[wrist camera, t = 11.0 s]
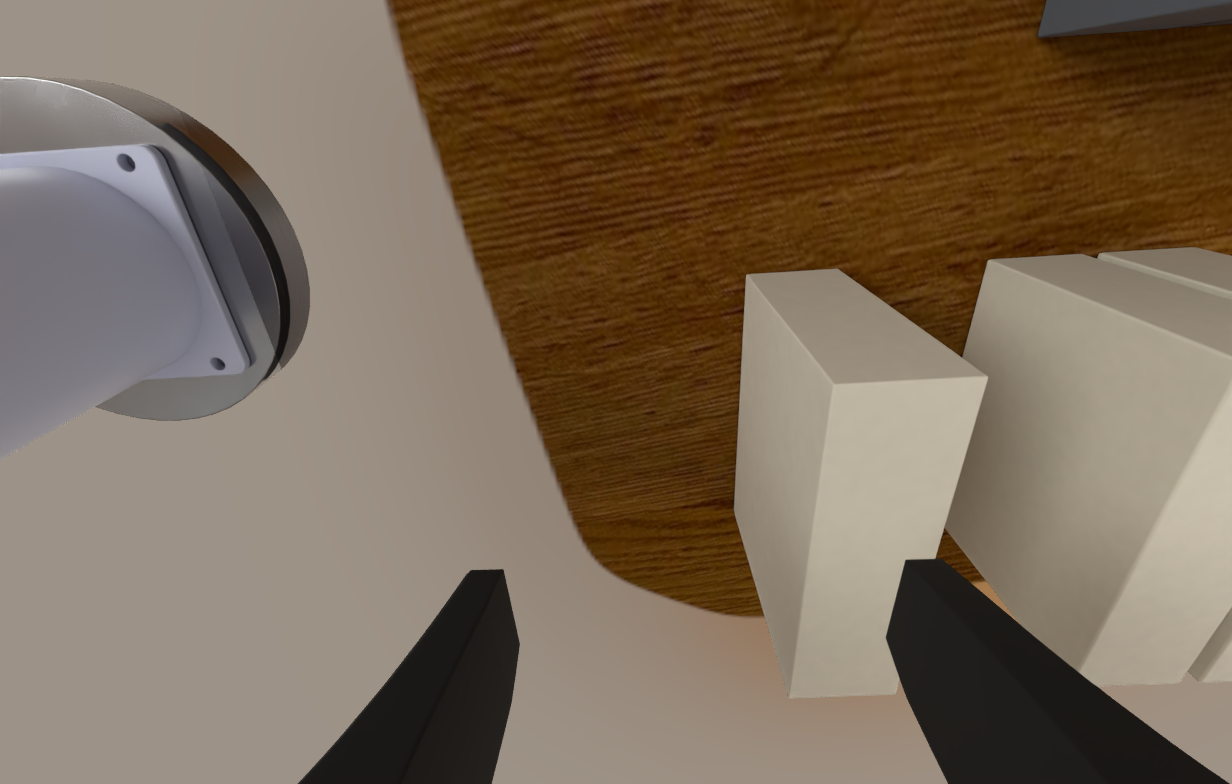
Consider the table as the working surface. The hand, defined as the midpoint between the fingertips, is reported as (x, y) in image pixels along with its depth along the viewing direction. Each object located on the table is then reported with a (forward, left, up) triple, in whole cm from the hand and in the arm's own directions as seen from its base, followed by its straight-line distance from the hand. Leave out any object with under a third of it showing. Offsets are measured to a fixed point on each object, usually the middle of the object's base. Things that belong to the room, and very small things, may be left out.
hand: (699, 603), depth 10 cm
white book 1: (+4, -2, -10) cm, 11 cm away
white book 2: (+12, -2, -10) cm, 16 cm away
